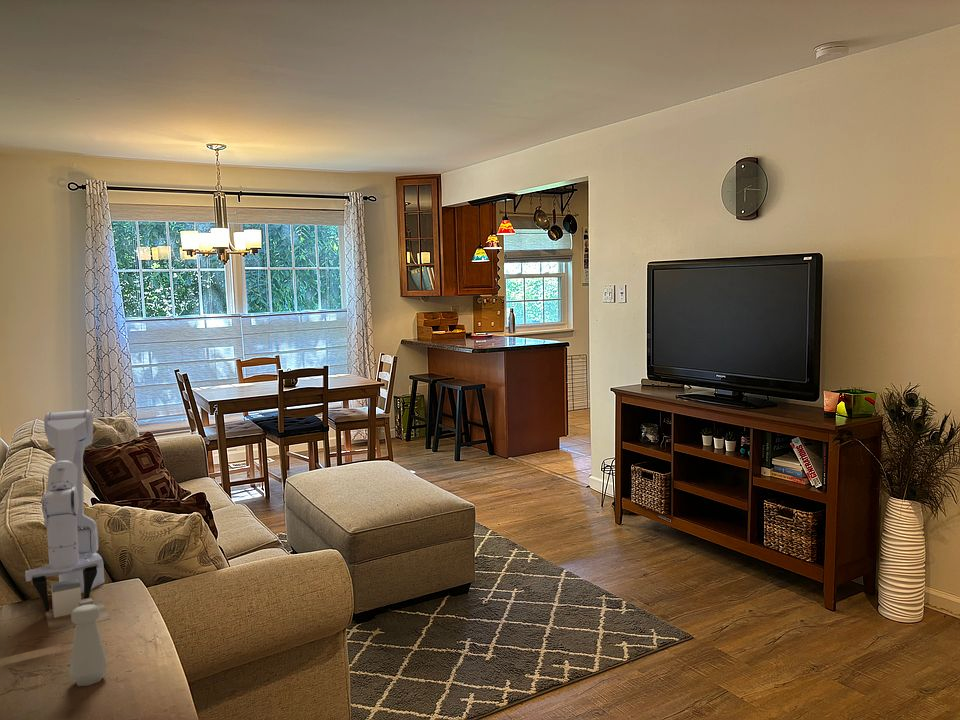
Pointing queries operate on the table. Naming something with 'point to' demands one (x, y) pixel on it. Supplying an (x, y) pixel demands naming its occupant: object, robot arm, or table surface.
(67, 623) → the stand
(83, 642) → the salt shaker
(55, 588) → the matte gray cube
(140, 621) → the table surface
